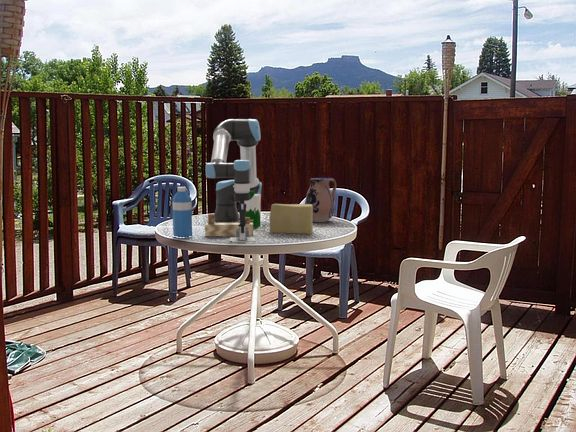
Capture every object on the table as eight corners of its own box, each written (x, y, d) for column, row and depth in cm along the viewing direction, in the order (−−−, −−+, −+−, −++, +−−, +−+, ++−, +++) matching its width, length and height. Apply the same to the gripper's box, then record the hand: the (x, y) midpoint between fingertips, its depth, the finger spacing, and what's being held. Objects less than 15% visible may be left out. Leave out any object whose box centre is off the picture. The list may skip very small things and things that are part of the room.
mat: (230, 242, 299) (230, 241, 299) (230, 237, 311) (230, 237, 311) (255, 242, 301) (255, 241, 300) (254, 237, 312) (254, 236, 312)
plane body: (205, 236, 314) (204, 215, 313) (205, 234, 320) (205, 213, 319) (253, 236, 317) (253, 214, 315) (252, 234, 322) (252, 212, 321)
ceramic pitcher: (297, 221, 365) (298, 178, 361) (321, 217, 380) (321, 176, 377) (321, 224, 353) (321, 180, 350) (344, 220, 368) (344, 178, 365)
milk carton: (241, 227, 342) (241, 191, 339) (248, 225, 350) (247, 189, 348) (256, 228, 339) (256, 191, 336) (262, 226, 348) (262, 190, 345)
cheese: (268, 233, 323) (268, 205, 321) (271, 230, 333) (271, 202, 331) (311, 234, 321) (311, 205, 319) (312, 231, 331) (312, 203, 329)
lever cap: (236, 237, 300) (236, 228, 300) (236, 233, 310) (236, 225, 310) (248, 237, 301) (248, 228, 300) (248, 233, 311) (248, 225, 310)
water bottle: (174, 235, 318) (172, 186, 314) (192, 235, 319) (191, 186, 315) (172, 238, 309) (171, 188, 305) (191, 238, 309) (190, 188, 306)
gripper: (234, 189, 313) (234, 233, 317) (234, 194, 291) (234, 242, 294) (249, 189, 314) (249, 233, 317) (250, 194, 292) (250, 241, 295)
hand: (242, 237), depth 306 cm, fingers closed on lever cap, 10 cm apart
